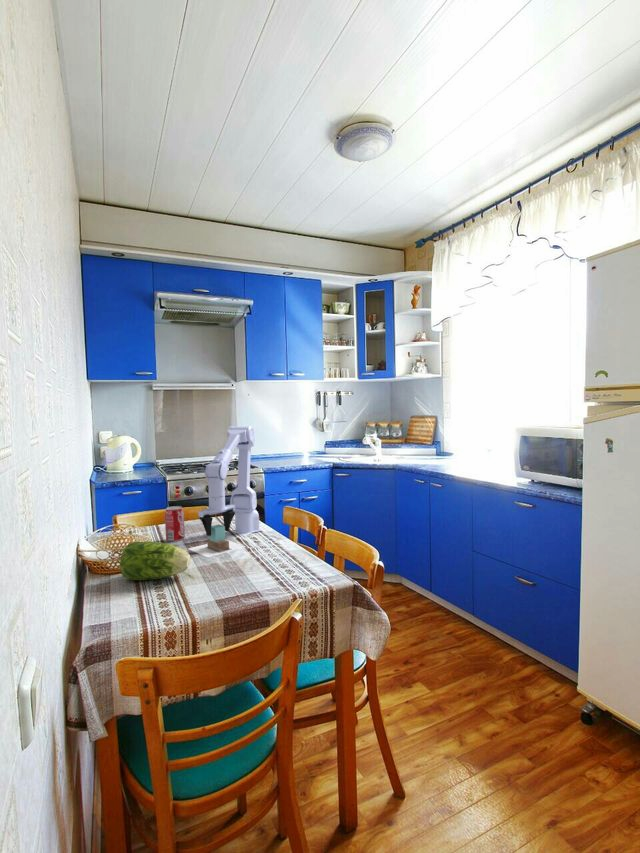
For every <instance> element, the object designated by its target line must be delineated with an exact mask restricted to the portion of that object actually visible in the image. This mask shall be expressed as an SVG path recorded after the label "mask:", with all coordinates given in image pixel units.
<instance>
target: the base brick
mask: <svg viewBox="0 0 640 853" xmlns="http://www.w3.org/2000/svg"><path fill="white" fill-rule="evenodd" d="M227 540H228V539H226V540H222V541H219V542H214V541H211V540H210V538H208V539H207V544H208V548H211V549H213V550H216V551H219V552H221V551H225V550H228V549H229V541H230V540H229V541H227Z"/></svg>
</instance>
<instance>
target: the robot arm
mask: <svg viewBox="0 0 640 853" xmlns="http://www.w3.org/2000/svg"><path fill="white" fill-rule="evenodd" d="M255 437H256V435H255V430H254V428H253V426H251V425H249V426H232V425H230V426H229V427H228V428H227V430H226V441H225V443H224V445H223V448H220V449H219V450H218V451H217V453H216V455H215V457H214V458H213V460H212V462H211V463H208V464H206V466H205V470H204V475H205V478H206V483H207V484H208V508H205V509H202V510H199V511H197V514H198V515H197V517H198V518H199V520H200V521H201V524H202V526H203V528H204V531H205V534H206V536H208V537H210V536H211V526H213V519H214V518H213V517H211V515H218V514H222V518H223V526H225V532H230V527H231V524H232V522H233V521H232V520H233V518H235V519H234V521H235V522H234V524H235V526H234V527H235V528H234V529H235V530H231V532H232V533H235V534H239V535H241V536H243V535H247V534H254V533H258V532H261V529H260V515H259V511H257V509H256V508H257V507H258V506H257V504H258V500H257V493H256V491H255V490H254V489H253V488H251V485H250V484H251V482H250V480H251V454H252V453H251V452H252V447H254V446H255ZM236 448H237V449H238V460H237V461H238V462H237V463H238V464H237V465H238V466H237V487H236V488H235V489H234V490H232V492H231V497H230V500H229V501H230V502H229V504H227V505H226V491H225V490H226V489H225V485H226V484H225V483H226V482H225V479H226V478H227V476H228V470H229V465H230V463H231V461H232V459H233V453H234V450H235V449H236Z"/></svg>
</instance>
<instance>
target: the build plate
mask: <svg viewBox="0 0 640 853" xmlns="http://www.w3.org/2000/svg"><path fill="white" fill-rule="evenodd" d="M225 540H227V541H229V549H228V550H225V551H221V552H219V551H216V550H213V549H211V548H208V543H205V544H202V545H198V546H193V547H189V548H188V550H189V551H191V552H194V553H197V554H199V555H200V556H203V557H205V558H210V557H214V556H217V555H222V554H225V553H228V552H232V551H236V550H239V549H243V548H246V546H245V545H243V544H239V543H237V542H234V541H231V540H228V539H226V538H225Z"/></svg>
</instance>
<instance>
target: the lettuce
mask: <svg viewBox="0 0 640 853" xmlns="http://www.w3.org/2000/svg"><path fill="white" fill-rule="evenodd" d="M190 565H191V555H190V553H189V552H187V551H186V550H185V549H183V548H180V547H179V546H177V545H176V544H172V543H169V542H168V543H167V542H157V541H132V542H131V543H128V545H126V546H124V548H123V549H122V552H121V555H120V559H119V568H120V574H121V576H122V577H124V578H125V579H127V580H128V581H148V580H159V579H165V578H170V577H173V576H175V575H177V574H182V573H183V572H185V571H187V570H188V569H189V568H190Z"/></svg>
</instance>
